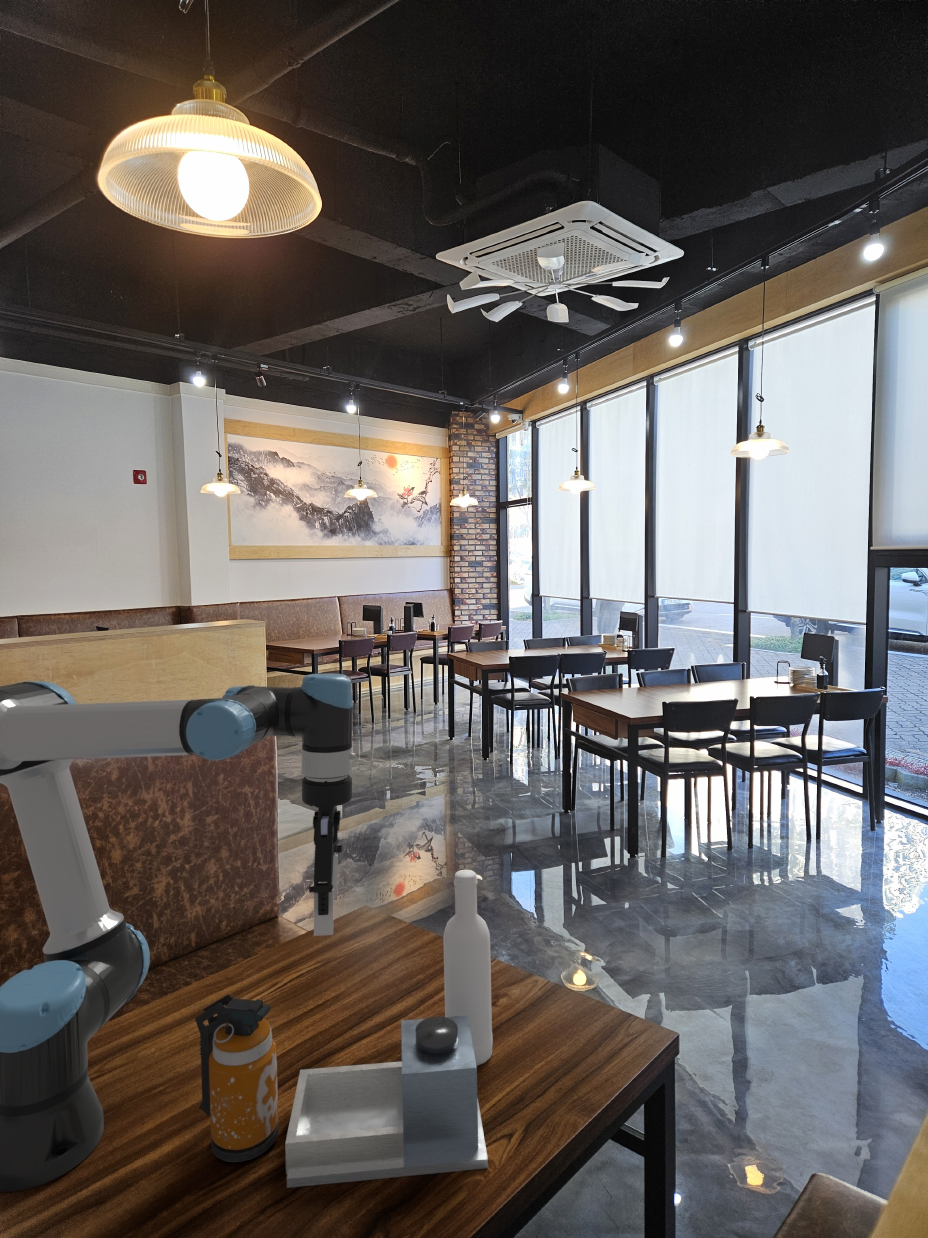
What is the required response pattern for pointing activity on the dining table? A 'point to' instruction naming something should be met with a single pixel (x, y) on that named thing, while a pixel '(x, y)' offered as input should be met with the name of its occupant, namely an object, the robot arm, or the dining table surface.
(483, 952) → the bottle
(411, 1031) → the grey holder tray
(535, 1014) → the dining table surface
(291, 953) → the dining table surface
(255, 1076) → the canister
